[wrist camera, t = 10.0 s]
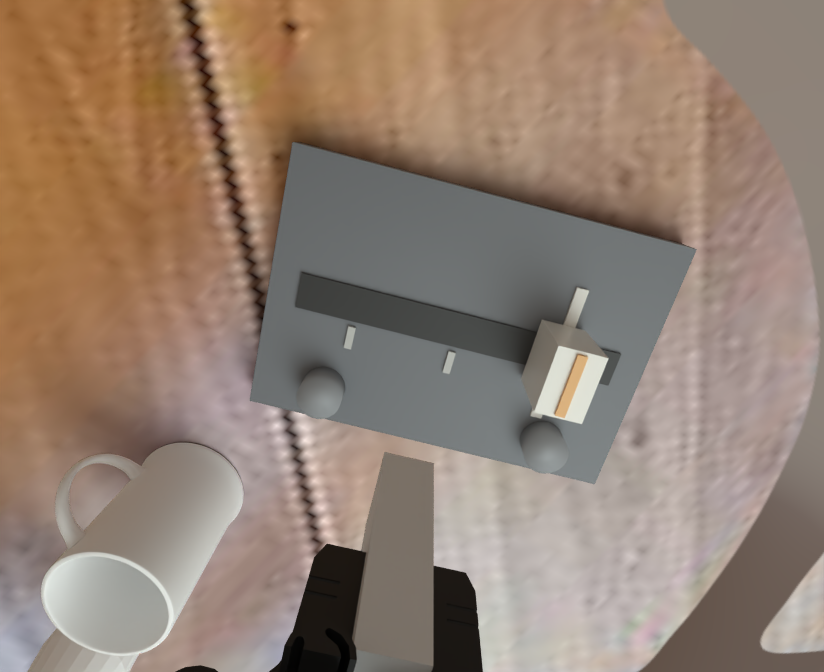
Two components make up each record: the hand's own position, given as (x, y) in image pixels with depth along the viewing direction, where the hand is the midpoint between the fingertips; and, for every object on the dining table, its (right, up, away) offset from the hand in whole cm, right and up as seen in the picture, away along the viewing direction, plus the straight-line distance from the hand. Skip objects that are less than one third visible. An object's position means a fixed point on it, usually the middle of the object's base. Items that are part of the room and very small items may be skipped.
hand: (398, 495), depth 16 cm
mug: (-18, -6, +27) cm, 33 cm away
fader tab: (+10, +4, +20) cm, 22 cm away
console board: (+4, +6, +22) cm, 23 cm away
